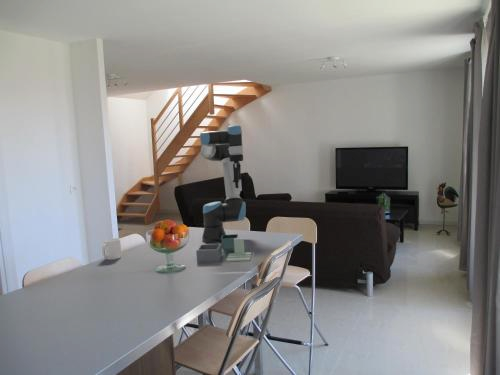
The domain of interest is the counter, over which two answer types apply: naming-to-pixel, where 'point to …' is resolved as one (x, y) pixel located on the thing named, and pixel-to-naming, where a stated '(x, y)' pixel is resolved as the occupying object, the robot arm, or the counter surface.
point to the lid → (239, 251)
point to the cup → (112, 249)
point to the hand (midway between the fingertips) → (238, 192)
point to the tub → (209, 253)
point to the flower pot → (228, 242)
